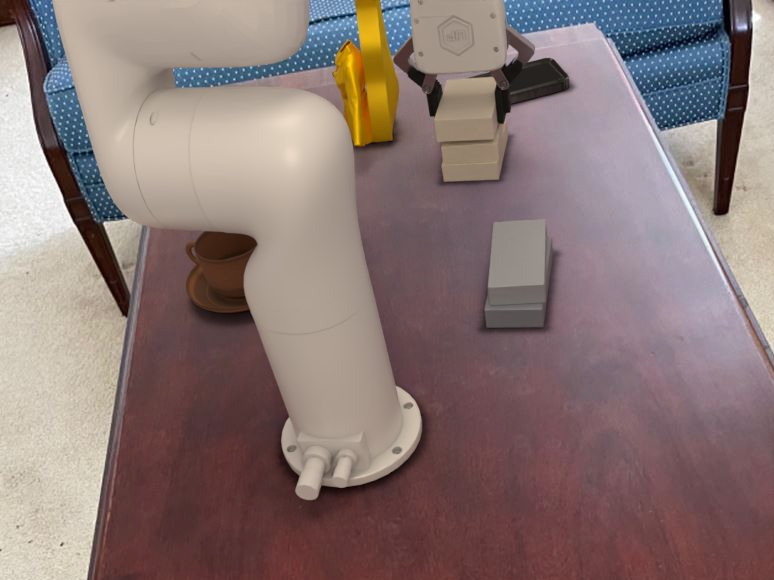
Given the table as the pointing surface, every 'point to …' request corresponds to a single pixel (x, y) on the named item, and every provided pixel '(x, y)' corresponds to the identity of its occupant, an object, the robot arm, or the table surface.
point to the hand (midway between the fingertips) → (471, 118)
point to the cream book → (467, 110)
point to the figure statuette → (368, 78)
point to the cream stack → (474, 157)
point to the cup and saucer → (219, 271)
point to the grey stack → (518, 274)
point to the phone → (536, 80)
